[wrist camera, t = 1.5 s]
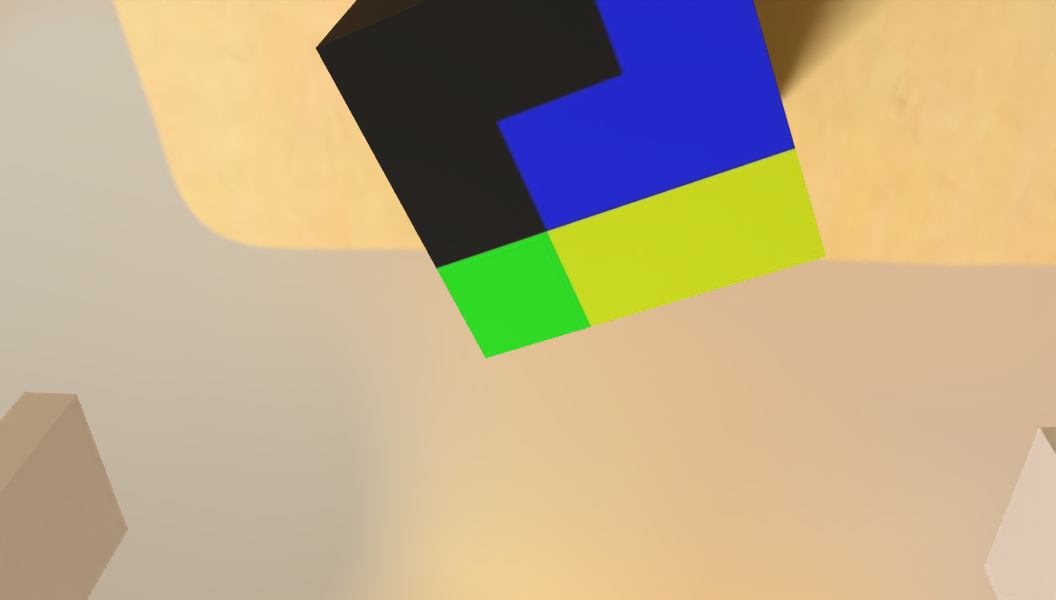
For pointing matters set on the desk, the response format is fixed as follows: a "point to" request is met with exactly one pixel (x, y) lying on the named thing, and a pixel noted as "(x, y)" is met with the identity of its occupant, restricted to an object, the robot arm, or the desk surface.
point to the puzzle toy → (577, 152)
